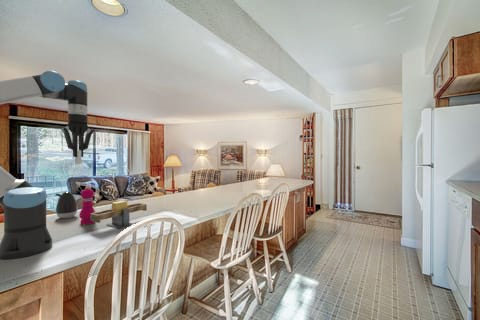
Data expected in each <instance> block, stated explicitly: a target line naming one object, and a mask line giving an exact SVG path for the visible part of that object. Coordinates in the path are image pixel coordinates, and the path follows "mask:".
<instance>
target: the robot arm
mask: <svg viewBox="0 0 480 320" xmlns="http://www.w3.org/2000/svg"><path fill="white" fill-rule="evenodd" d="M88 94H89V93H88V86H87V83H85V82H83V81H80V80H73V79H70V80H68V81H67V83H66V80H65V77H64V76H63V75H62V74H60V73H59V72H57V71H56V70H55V71H54V70H46V71H44V72H42V73H41V74H36V75H29V76H24V77H18V78H10V79H4V80H0V105H4V104H8V103H14V102H19V101H22V100H28V99H33V98H37V97H39V98H43V99H53V100H59V101H60V100H61V101H67V122H68V123H67V124H66V126H65V127H61V129H60V130H61V131H62V133H63V135H64V138H65V142H66V145H67V149H70V150H72V156H73V157H74V164H75V165H82V158H83V157H84V151H85V150H88V149H89V145H90V141H91V138H92V135H93V134H94V130H92V129H90V128H89V125H88ZM70 132H71V134H70ZM85 133H86V135H85ZM71 137H72V138H71ZM47 198H48V195H47V192H46V190H45V188H42V187H35V186H33V185H31V183H30V182H28V181H27V180H25V179H17V178H16V177H14V175H12V174H11V173H9V171H7V170H6V169H4V168H3V167H2V166H1V165H0V206H1V207H3V236H2V238H1V241H0V259H1V260H12V259H20V258H25V257H30V256H33V255H37V254H40V253H43V252H45V251H47V250H49V249H50V248H52V247H53V238H52V236H51V234H50V232H49V230H48V228H47Z"/></svg>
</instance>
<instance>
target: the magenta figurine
mask: <svg viewBox="0 0 480 320" xmlns="http://www.w3.org/2000/svg"><path fill="white" fill-rule="evenodd" d="M94 195H95V191H94V190H93V189H92V188H90V186H89V185H87V186H85V188H84V189H83V190H82V191H80V196H81V202H82V207H81V209H80V212H79V215H78V217H79V218H80V225H82V226H83V225H91V224H93V223H95V222H93V221H90V214H91V213H94V212H96V210H95V209H94V206H93V201H94Z"/></svg>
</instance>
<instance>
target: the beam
mask: <svg viewBox="0 0 480 320" xmlns="http://www.w3.org/2000/svg"><path fill="white" fill-rule="evenodd" d="M125 209H129V214H131V213H135V212H139V211H144V212H145V211H147V204H146V203H140V202H136V203H132V204H127V208H125ZM122 210H123V209H121V210H117V211H112V208H110V209H109V208H108V209H104V210H100V211H95V212H94V213H91V214H90V221H93V222H94V223H97V224H99V223H101V221H104V220H107V219H112V217H116V216H120V215H122Z"/></svg>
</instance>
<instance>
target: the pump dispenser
mask: <svg viewBox="0 0 480 320" xmlns="http://www.w3.org/2000/svg"><path fill="white" fill-rule="evenodd" d="M55 196H56V197H59V198H58V200H57V202H56V206H55V214H56V216H57V217H58V218H59V219H64V220H65V219H71V218H73V217H75V216H76V215H77V212H78V203H77V200H76V198H75V196H74V194H73V193H72V192H71V191H64V192H62V193H61V194H60V193H55Z"/></svg>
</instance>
